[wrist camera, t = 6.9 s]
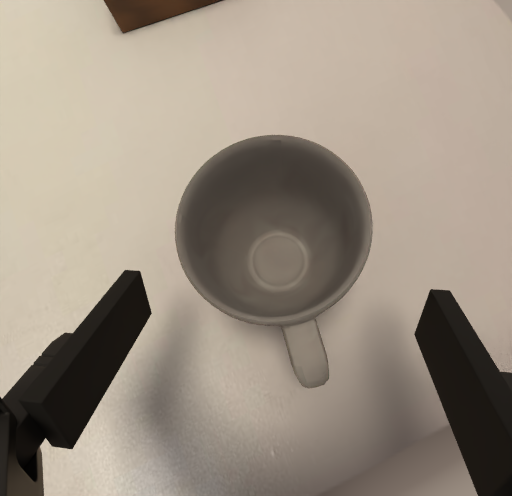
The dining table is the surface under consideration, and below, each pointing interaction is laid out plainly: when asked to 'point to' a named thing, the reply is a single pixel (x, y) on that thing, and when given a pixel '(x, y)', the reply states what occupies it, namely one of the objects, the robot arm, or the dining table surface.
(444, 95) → the dining table surface
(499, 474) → the robot arm
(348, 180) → the mug
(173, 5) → the riser
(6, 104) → the dining table surface
